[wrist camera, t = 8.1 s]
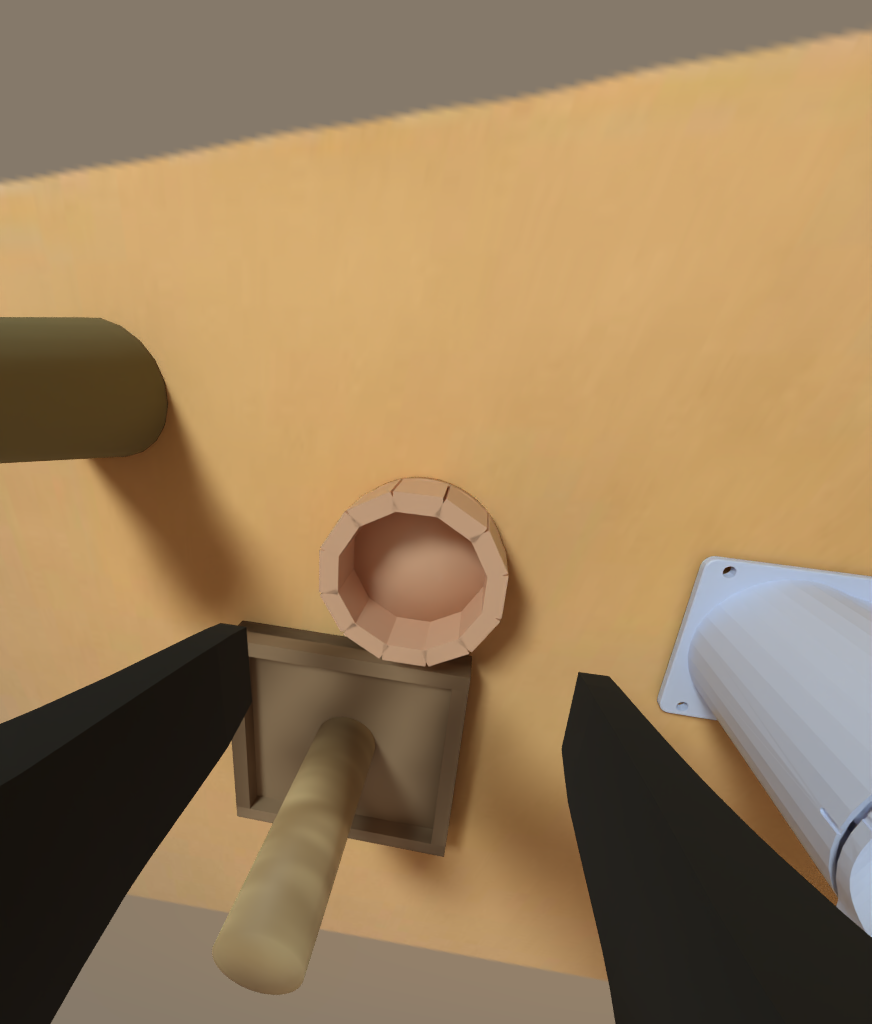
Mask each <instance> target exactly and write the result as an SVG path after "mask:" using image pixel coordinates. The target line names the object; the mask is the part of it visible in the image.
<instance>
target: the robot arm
mask: <svg viewBox="0 0 872 1024" xmlns="http://www.w3.org/2000/svg"><path fill="white" fill-rule="evenodd" d="M730 566H731V570H730V571H729V572H728V573H726V574H723V570H724V569H725V568H727V567H730ZM657 702H658V704H659V706H660V708H661V709H662V710H663V711H665V712H668V713H674V714H680V715H686V716H692V717H699V718H705V719H711V720H717V721H719V723H720V724H721V726H722V727H723V729H724V730H725V732H726V733H727V735H728V736H729V738H730V739H731V741H732V742H733V744H734V745H735V747H736V748H737V749H738V751H739V752H740V754H741V755H742V757H743V758H744V760H745V761H746V763H747V764H748V766H749V767H750V769H751V770H752V772H753V773H754V775H755V776H756V778H757V779H758V780H759V782H760V783H761V785H762V786H763V788H764V789H765V791H766V792H767V794H768V795H769V797H770V798H771V800H772V801H773V803H774V804H775V806H776V807H777V809H778V810H779V811H780V813H781V814H782V816H783V817H784V819H785V820H786V822H787V823H788V825H789V826H790V828H791V829H792V831H793V832H794V834H795V835H796V837H797V838H798V840H799V841H800V842H801V844H802V845H803V847H804V848H805V850H806V851H807V853H808V854H809V856H810V857H811V859H812V860H813V862H814V863H815V865H816V866H817V868H818V869H819V871H820V872H821V873H822V875H823V876H824V878H825V879H826V881H827V882H828V884H829V885H830V887H831V888H832V890H833V891H834V893H835V894H836V896H837V897H838V902H837V905H836V906H835V905H834V904H833V903H831V902H830V901H829V900H828V899H827V898H826V897H825V896H824V895H823V894H821V893H820V892H819V891H818V890H817V889H816V888H815V887H814V886H813V885H811V884H810V883H809V882H808V881H807V880H806V879H805V878H804V877H803V876H802V875H800V874H799V873H798V872H797V871H796V870H795V869H794V868H793V867H792V866H790V865H789V864H788V863H787V862H786V861H785V860H784V859H783V858H782V857H780V856H779V855H778V854H777V853H776V852H775V851H774V850H773V849H772V848H771V847H770V846H769V845H768V844H767V843H766V842H765V841H763V840H762V839H761V838H760V837H759V836H758V835H757V834H756V833H755V832H754V831H753V830H752V829H751V828H750V827H749V826H748V825H747V824H746V823H745V822H744V821H743V820H742V819H741V818H740V817H739V816H738V815H737V814H736V813H735V812H734V811H733V810H732V809H731V808H730V807H729V806H728V805H727V804H726V803H725V802H724V801H723V800H722V799H721V798H720V797H719V796H718V795H717V794H716V793H715V792H714V791H713V790H712V789H711V788H710V787H709V786H708V785H707V784H706V783H705V782H704V781H703V780H702V779H701V778H700V777H699V776H698V774H697V773H696V772H695V771H694V770H693V769H692V768H691V767H690V766H689V765H688V764H687V763H686V762H685V761H684V760H683V758H682V757H681V756H680V755H679V754H678V753H677V752H676V751H675V750H674V749H673V748H672V747H671V745H670V744H669V743H668V742H667V741H666V740H665V739H664V738H663V737H662V735H661V734H660V733H659V732H658V731H657V730H656V729H655V728H654V727H653V725H652V724H651V723H650V722H649V721H648V720H647V719H646V717H645V716H644V715H643V714H642V713H641V712H640V711H639V710H638V708H637V707H636V706H635V705H634V704H633V703H632V702H631V700H630V699H629V698H628V697H627V696H626V695H625V694H624V692H623V691H622V690H621V689H620V688H619V687H618V686H617V685H616V683H615V682H614V681H613V680H612V679H611V678H610V677H609V676H603V675H596V674H588V673H581V672H579V673H578V677H577V682H576V686H575V691H574V695H573V700H572V704H571V709H570V713H569V718H568V722H567V727H566V731H565V736H564V740H563V745H562V757H563V766H564V775H565V783H566V790H567V798H568V804H569V809H570V813H571V818H572V822H573V827H574V831H575V835H576V840H577V844H578V849H579V853H580V857H581V861H582V866H583V870H584V874H585V879H586V883H587V887H588V891H589V896H590V900H591V904H592V908H593V913H594V917H595V921H596V926H597V930H598V934H599V938H600V943H601V947H602V951H603V956H604V961H605V966H606V971H607V976H608V981H609V986H610V992H611V998H612V1004H613V1010H614V1017H615V1022H616V1024H872V576H864V575H856V574H849V573H841V572H833V571H826V570H818V569H810V568H803V567H795V566H787V565H780V564H772V563H764V562H757V561H749V560H741V559H734V558H726V557H718V556H711V557H709V558H706V559H705V560H704V561H703V562H702V564H701V565H700V569H699V572H698V575H697V578H696V581H695V584H694V587H693V590H692V593H691V596H690V599H689V602H688V605H687V609H686V612H685V615H684V618H683V621H682V624H681V627H680V630H679V633H678V636H677V639H676V642H675V645H674V649H673V652H672V655H671V658H670V661H669V664H668V667H667V670H666V673H665V676H664V679H663V682H662V685H661V689H660V692H659V695H658V698H657ZM680 702H684V703H683V704H681V705H677V704H678V703H680ZM251 703H252V694H251V681H250V668H249V654H248V641H247V628H246V627H244V626H237V625H229V624H222V623H220V624H217V625H215V626H213V627H210V628H208V629H206V630H203V631H201V632H199V633H197V634H195V635H193V636H190V637H188V638H186V639H184V640H182V641H180V642H178V643H176V644H174V645H172V646H170V647H168V648H166V649H164V650H162V651H160V652H158V653H156V654H153V655H151V656H149V657H147V658H145V659H143V660H141V661H139V662H137V663H135V664H133V665H131V666H129V667H127V668H125V669H123V670H121V671H118V672H116V673H114V674H112V675H110V676H108V677H106V678H104V679H102V680H99V681H97V682H95V683H93V684H90V685H88V686H86V687H84V688H82V689H79V690H77V691H75V692H73V693H71V694H68V695H66V696H64V697H62V698H60V699H57V700H55V701H53V702H51V703H49V704H46V705H44V706H42V707H40V708H37V709H35V710H33V711H30V712H28V713H26V714H23V715H21V716H18V717H16V718H14V719H11V720H9V721H6V722H4V723H1V724H0V1024H50V1023H51V1022H52V1020H53V1018H54V1016H55V1015H56V1013H57V1011H58V1009H59V1008H60V1006H61V1004H62V1002H63V1001H64V999H65V997H66V995H67V994H68V992H69V990H70V988H71V987H72V985H73V983H74V981H75V980H76V978H77V976H78V974H79V973H80V971H81V969H82V967H83V966H84V964H85V962H86V961H87V959H88V957H89V956H90V954H91V952H92V950H93V949H94V947H95V946H96V944H97V942H98V940H99V939H100V937H101V936H102V934H103V932H104V930H105V929H106V927H107V925H108V924H109V922H110V920H111V919H112V917H113V915H114V914H115V912H116V910H117V909H118V907H119V905H120V904H121V902H122V900H123V898H124V897H125V895H126V894H127V892H128V891H129V889H130V888H131V886H132V885H133V883H134V882H135V880H136V879H137V877H138V875H139V874H140V872H141V871H142V869H143V868H144V866H145V865H146V863H147V862H148V860H149V859H150V858H151V856H152V855H153V853H154V852H155V851H156V849H157V848H158V846H159V845H160V843H161V842H162V841H163V839H164V838H165V836H166V835H167V833H168V832H169V831H170V829H171V828H172V826H173V825H174V824H175V822H176V821H177V819H178V818H179V816H180V815H181V814H182V812H183V811H184V809H185V808H186V807H187V805H188V804H189V802H190V801H191V799H192V798H193V797H194V795H195V794H196V792H197V791H198V789H199V788H200V787H201V785H202V784H203V782H204V781H205V779H206V778H207V777H208V775H209V774H210V772H211V771H212V769H213V768H214V766H215V765H216V764H217V762H218V761H219V759H220V758H221V756H222V755H223V753H224V752H225V750H226V749H227V747H228V746H229V744H230V742H231V740H232V738H233V737H234V735H235V733H236V731H237V730H238V728H239V726H240V724H241V722H242V720H243V718H244V716H245V714H246V713H247V711H248V709H249V707H250V705H251Z"/></svg>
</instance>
